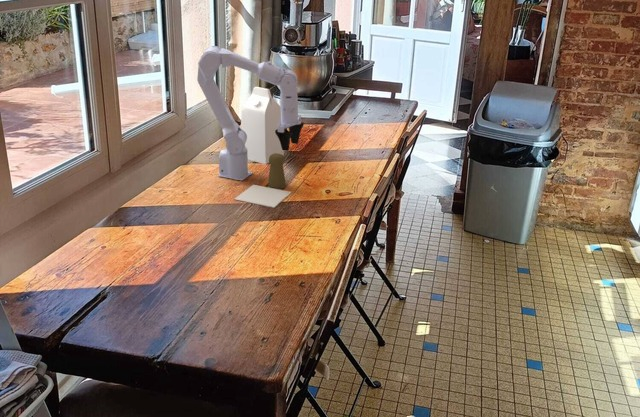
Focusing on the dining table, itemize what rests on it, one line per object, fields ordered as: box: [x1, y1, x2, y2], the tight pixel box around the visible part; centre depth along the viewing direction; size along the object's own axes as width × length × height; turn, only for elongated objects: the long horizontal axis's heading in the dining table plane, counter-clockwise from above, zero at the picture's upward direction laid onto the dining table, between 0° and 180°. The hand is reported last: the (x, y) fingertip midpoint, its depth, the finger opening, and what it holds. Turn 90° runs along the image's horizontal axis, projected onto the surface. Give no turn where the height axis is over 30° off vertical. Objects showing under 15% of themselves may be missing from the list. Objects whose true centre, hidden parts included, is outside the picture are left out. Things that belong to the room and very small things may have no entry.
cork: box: [267, 153, 286, 190], centre depth 205 cm, size 6×6×11 cm
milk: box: [240, 86, 285, 165], centre depth 227 cm, size 12×12×26 cm
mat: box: [233, 184, 292, 209], centre depth 199 cm, size 14×13×1 cm
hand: (290, 146), depth 210 cm, fingers open, 7 cm apart
